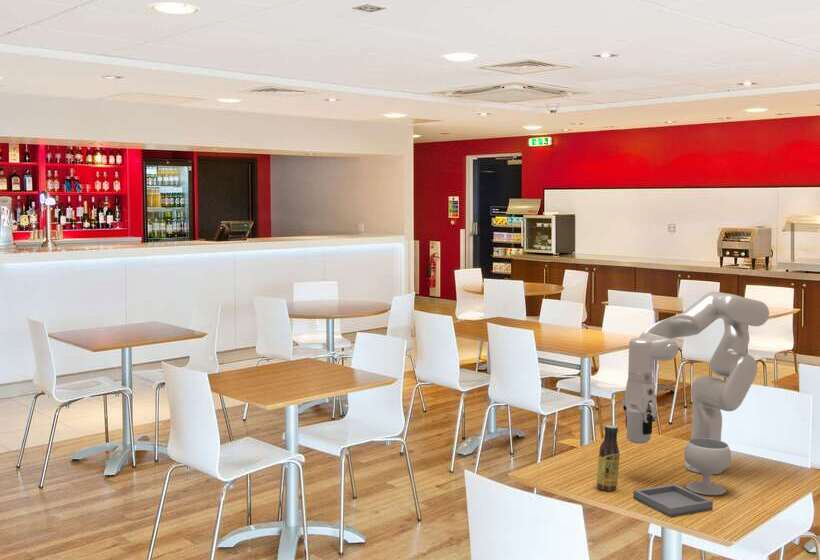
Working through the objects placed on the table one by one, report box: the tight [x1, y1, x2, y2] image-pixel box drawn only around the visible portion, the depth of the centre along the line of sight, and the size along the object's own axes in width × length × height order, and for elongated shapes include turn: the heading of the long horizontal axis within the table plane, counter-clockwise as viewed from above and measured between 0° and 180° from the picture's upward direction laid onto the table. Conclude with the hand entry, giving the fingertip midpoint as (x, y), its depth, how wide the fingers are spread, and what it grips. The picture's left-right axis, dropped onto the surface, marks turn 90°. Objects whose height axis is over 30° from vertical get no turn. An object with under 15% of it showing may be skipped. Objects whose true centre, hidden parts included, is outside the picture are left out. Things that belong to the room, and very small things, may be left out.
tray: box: [632, 483, 714, 518], centre depth 257 cm, size 16×16×2 cm
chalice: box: [683, 438, 732, 496], centre depth 270 cm, size 14×14×15 cm
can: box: [626, 405, 652, 445], centre depth 277 cm, size 8×8×12 cm
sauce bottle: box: [596, 424, 621, 492], centre depth 268 cm, size 6×6×20 cm
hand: (638, 430), depth 277 cm, fingers closed on can, 7 cm apart
